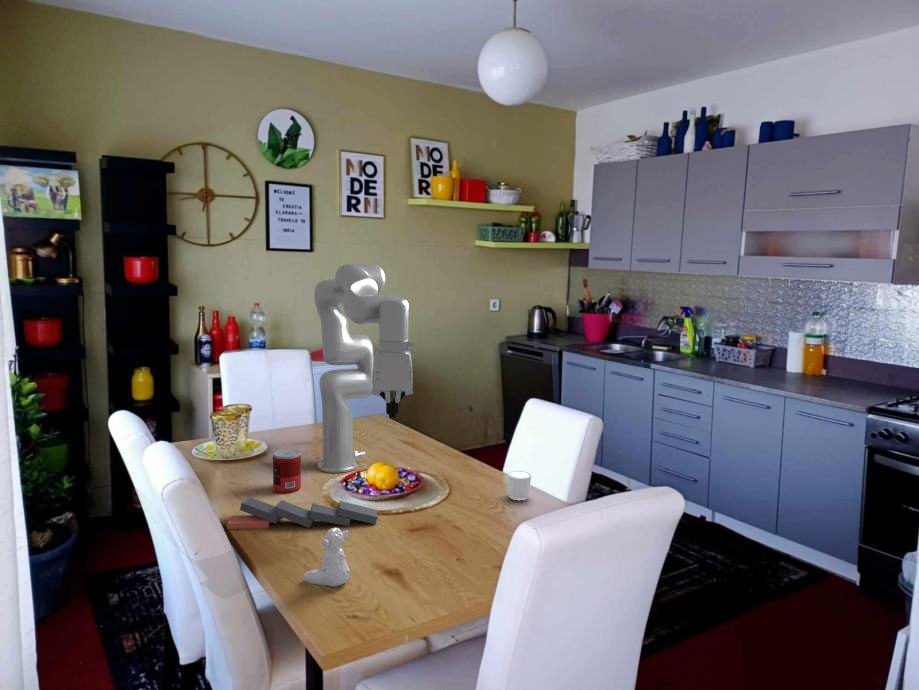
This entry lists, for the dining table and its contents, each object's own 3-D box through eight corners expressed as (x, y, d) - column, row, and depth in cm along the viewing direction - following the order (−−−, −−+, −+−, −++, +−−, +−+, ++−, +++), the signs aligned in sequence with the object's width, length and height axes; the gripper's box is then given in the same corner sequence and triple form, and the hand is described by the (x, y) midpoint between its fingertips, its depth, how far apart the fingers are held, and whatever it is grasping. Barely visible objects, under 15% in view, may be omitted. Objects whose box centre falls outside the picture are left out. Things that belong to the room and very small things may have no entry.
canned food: (306, 486, 197) (306, 450, 195) (290, 495, 190) (290, 458, 188) (283, 482, 200) (283, 447, 198) (267, 491, 192) (267, 454, 190)
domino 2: (317, 513, 173) (281, 499, 173) (312, 520, 168) (275, 506, 168) (315, 520, 173) (279, 507, 173) (309, 527, 168) (272, 513, 168)
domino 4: (376, 509, 177) (339, 500, 175) (377, 517, 172) (340, 508, 170) (374, 516, 177) (337, 507, 175) (375, 524, 172) (337, 515, 170)
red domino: (271, 514, 173) (231, 515, 171) (268, 522, 168) (226, 523, 166) (271, 522, 173) (231, 523, 172) (268, 530, 168) (227, 531, 167)
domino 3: (350, 511, 175) (312, 503, 173) (350, 519, 170) (311, 511, 168) (348, 518, 175) (310, 510, 173) (348, 526, 171) (309, 518, 168)
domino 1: (285, 510, 173) (250, 497, 175) (277, 515, 168) (241, 502, 170) (283, 517, 173) (248, 504, 175) (275, 523, 168) (239, 510, 170)
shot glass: (533, 495, 195) (534, 472, 194) (525, 503, 189) (526, 480, 188) (511, 491, 198) (512, 468, 197) (503, 499, 192) (504, 475, 191)
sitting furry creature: (336, 565, 150) (336, 514, 148) (363, 578, 144) (363, 526, 142) (302, 581, 142) (302, 527, 140) (328, 595, 137) (328, 540, 135)
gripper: (419, 344, 176) (418, 412, 179) (362, 344, 173) (362, 413, 176) (424, 349, 169) (422, 419, 172) (364, 349, 166) (364, 421, 169)
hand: (392, 416), depth 174 cm, fingers closed
